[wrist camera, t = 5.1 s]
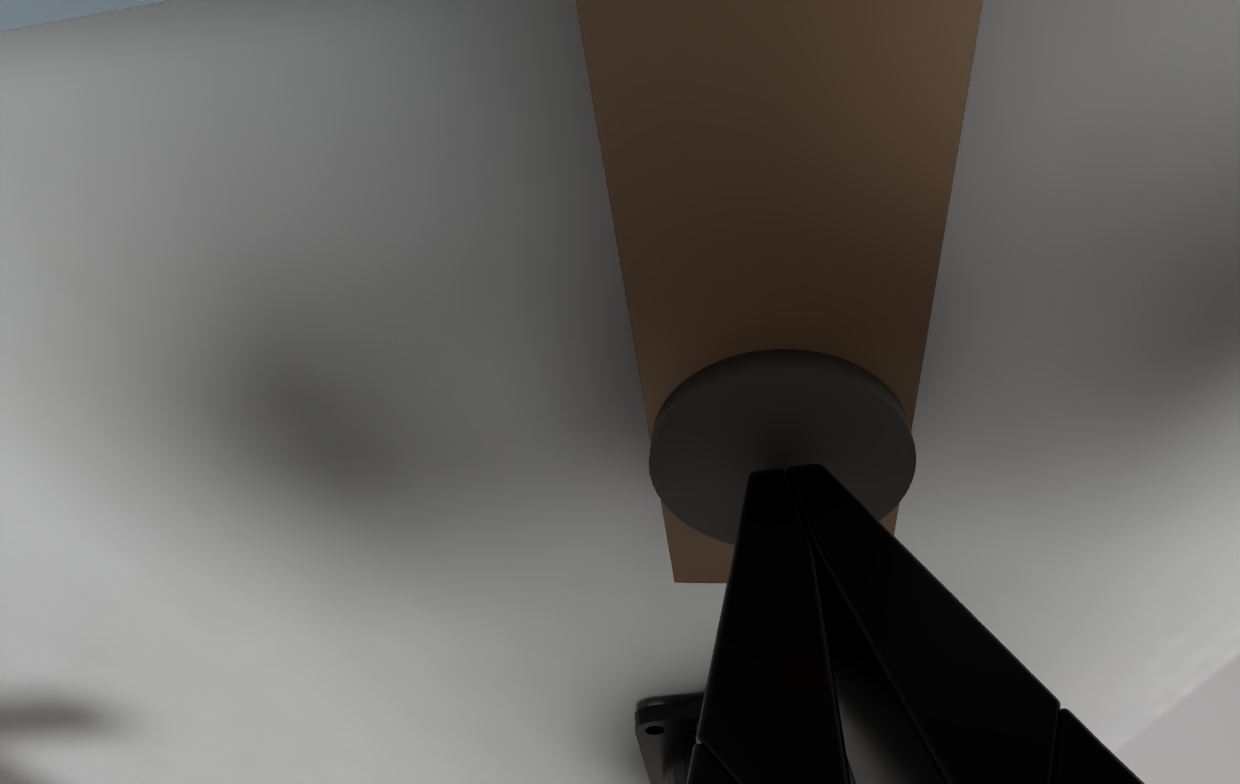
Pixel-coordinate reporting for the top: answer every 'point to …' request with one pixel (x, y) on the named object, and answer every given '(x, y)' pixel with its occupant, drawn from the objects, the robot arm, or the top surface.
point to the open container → (57, 10)
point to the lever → (777, 236)
